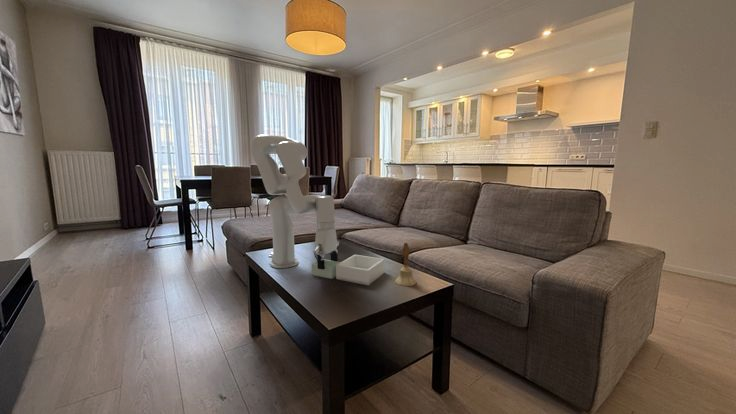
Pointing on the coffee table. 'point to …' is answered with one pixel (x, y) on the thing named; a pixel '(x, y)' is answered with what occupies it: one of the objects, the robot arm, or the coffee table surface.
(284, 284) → the coffee table surface
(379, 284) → the coffee table surface
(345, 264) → the big crate
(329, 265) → the small crate
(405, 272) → the hand bell
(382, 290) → the coffee table surface
